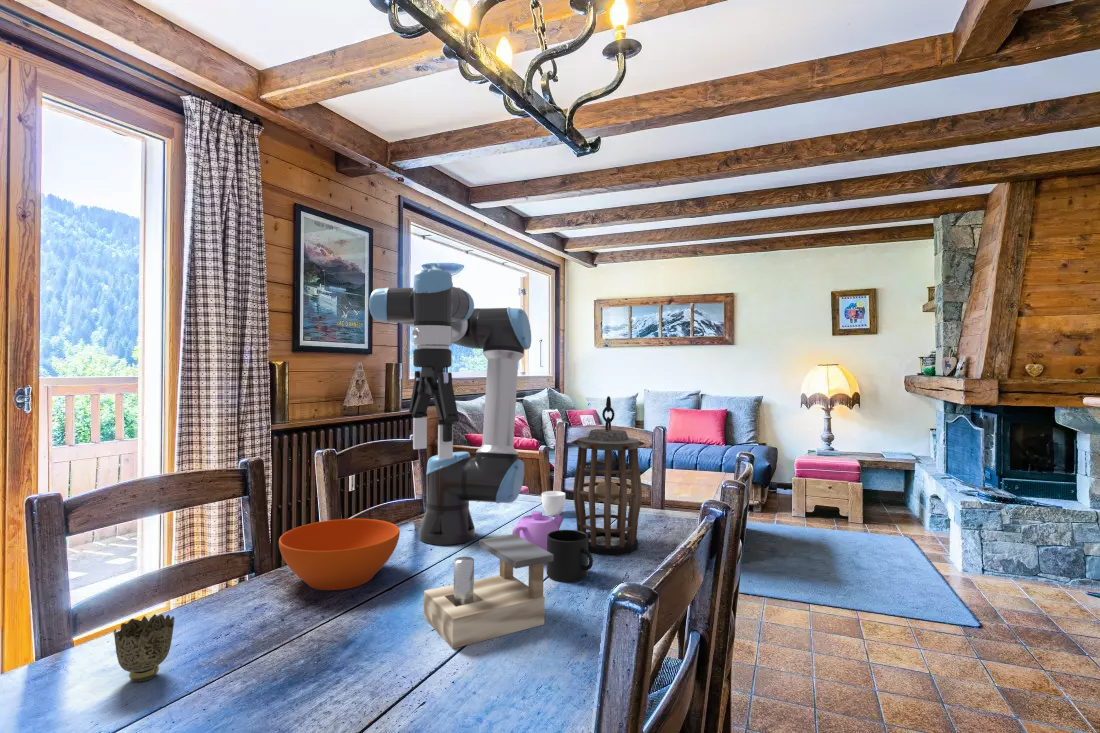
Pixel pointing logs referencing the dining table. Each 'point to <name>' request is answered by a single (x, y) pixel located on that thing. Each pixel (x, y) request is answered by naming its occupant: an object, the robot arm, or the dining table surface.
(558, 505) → the cup
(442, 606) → the socket porch
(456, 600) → the peg
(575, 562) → the mug
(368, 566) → the bowl
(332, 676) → the dining table surface
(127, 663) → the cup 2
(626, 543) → the lantern
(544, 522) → the teapot
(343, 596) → the dining table surface
